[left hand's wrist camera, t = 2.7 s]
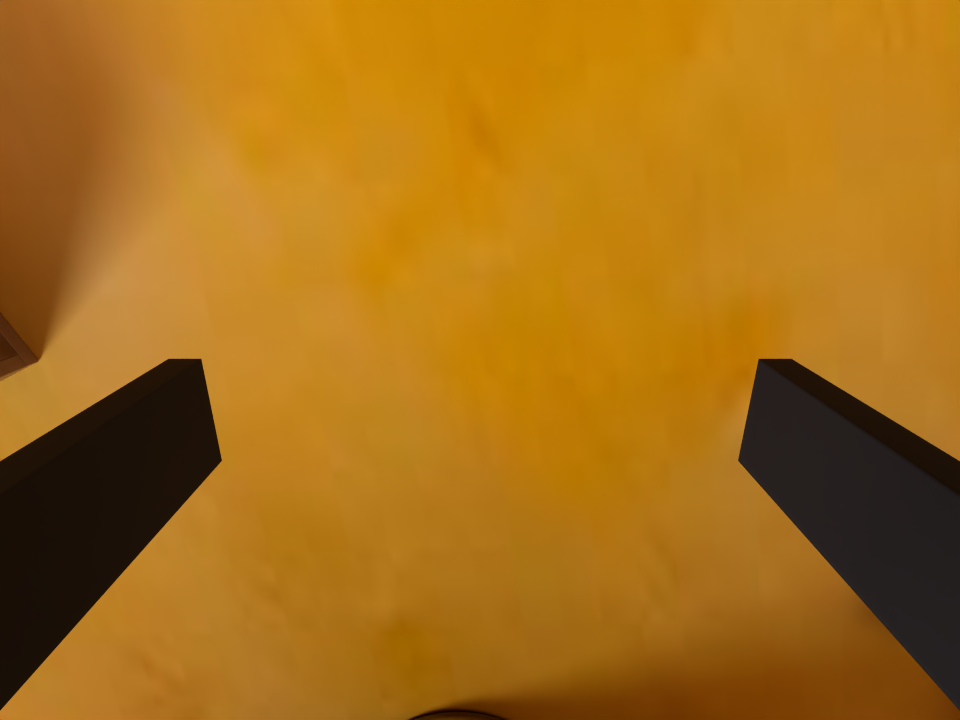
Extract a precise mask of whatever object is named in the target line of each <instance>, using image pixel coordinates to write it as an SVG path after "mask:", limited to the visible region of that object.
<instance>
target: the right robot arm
mask: <svg viewBox="0 0 960 720" xmlns="http://www.w3.org/2000/svg"><path fill="white" fill-rule="evenodd" d="M415 720H502V719H499V718H496V717H492V716H489V715H484V714H478V713H470V712H446V713H438V714H432V715H428V716H424V717H421V718H417V719H415Z"/></svg>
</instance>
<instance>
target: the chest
mask: <svg viewBox="0 0 960 720" xmlns="http://www.w3.org/2000/svg"><path fill="white" fill-rule="evenodd" d="M36 362H38V359H37V358H36V357H35V356H34V354H33V353H32V352H31V351H30V349H29V348H28V347H27V346H26V345H25V343H24V342H23V341H22V340H21V338H20V337H19V336H18V335H17V334H16V332H15V331H14V330H13V329H12V327H11V326H10V325H9V324H8V323H7V321H6V320H5V319H4V318H3V316H2V315H1V314H0V381H1V380H3V379H5V378H7V377H9V376H11V375H13V374H15V373H17V372H19V371H21V370H22V369H24V368H26V367H28V366H30V365H32V364H34V363H36Z"/></svg>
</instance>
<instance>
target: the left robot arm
mask: <svg viewBox="0 0 960 720" xmlns="http://www.w3.org/2000/svg"><path fill="white" fill-rule="evenodd" d="M221 461H222V459H221V454H220V449H219V444H218V439H217V434H216V429H215V425H214V420H213V415H212V410H211V405H210V400H209V395H208V390H207V385H206V380H205V375H204V370H203V365H202V360H201V359H168V360H166V361H164V362H163V363H161V364H159V365H158V366H156V367H155V368H153V369H151V370H150V371H148V372H146V373H145V374H143V375H141V376H140V377H138V378H136V379H135V380H133V381H132V382H130V383H128V384H127V385H125V386H123V387H122V388H120V389H118V390H117V391H115V392H113V393H112V394H110V395H108V396H107V397H105V398H104V399H102V400H100V401H99V402H97V403H95V404H94V405H92V406H90V407H89V408H87V409H85V410H84V411H82V412H81V413H79V414H77V415H76V416H74V417H72V418H71V419H69V420H67V421H66V422H64V423H62V424H61V425H59V426H58V427H56V428H54V429H53V430H51V431H49V432H48V433H46V434H44V435H43V436H41V437H39V438H38V439H36V440H34V441H33V442H31V443H30V444H28V445H26V446H25V447H23V448H21V449H20V450H18V451H16V452H15V453H13V454H11V455H10V456H8V457H7V458H5V459H3V460H2V461H0V710H1V709H2V708H3V707H4V706H5V705H6V703H7V702H8V701H9V700H10V699H11V698H12V697H13V696H14V694H15V693H16V692H17V691H18V690H19V689H20V688H21V686H22V685H23V684H24V683H25V682H26V681H27V680H28V679H29V677H30V676H31V675H32V674H33V673H34V672H35V671H36V670H37V668H38V667H39V666H40V665H41V664H42V663H43V662H44V661H45V659H46V658H47V657H48V656H49V655H50V654H51V653H52V652H53V650H54V649H55V648H56V647H57V646H58V645H59V644H60V643H61V641H62V640H63V639H64V638H65V637H66V636H67V635H68V633H69V632H70V631H71V630H72V629H73V628H74V627H75V626H76V624H77V623H78V622H79V621H80V620H81V619H82V618H83V617H84V615H85V614H86V613H87V612H88V611H89V610H90V609H91V608H92V606H93V605H94V604H95V603H96V602H97V601H98V600H99V599H100V597H101V596H102V595H103V594H104V593H105V592H106V591H107V590H108V588H109V587H110V586H111V585H112V584H113V583H114V582H115V581H116V579H117V578H118V577H119V576H120V575H121V574H122V573H123V571H124V570H125V569H126V568H127V567H128V566H129V565H130V564H131V562H132V561H133V560H134V559H135V558H136V557H137V556H138V555H139V553H140V552H141V551H142V550H143V549H144V548H145V547H146V546H147V544H148V543H149V542H150V541H151V540H152V539H153V538H154V537H155V535H156V534H157V533H158V532H159V531H160V530H161V529H162V528H163V526H164V525H165V524H166V523H167V522H168V521H169V520H170V519H171V517H172V516H173V515H174V514H175V513H176V512H177V511H178V509H179V508H180V507H181V506H182V505H183V504H184V503H185V502H186V500H187V499H188V498H189V497H190V496H191V495H192V494H193V493H194V491H195V490H196V489H197V488H198V487H199V486H200V485H201V484H202V482H203V481H204V480H205V479H206V478H207V477H208V476H209V475H210V473H211V472H212V471H213V470H214V469H215V468H216V467H217V466H218V464H219V463H220V462H221ZM738 461H739V462H740V463H741V464H742V466H743V467H744V468H745V469H746V470H747V471H748V472H749V473H750V475H751V476H752V477H753V478H754V479H755V480H756V481H757V482H758V484H759V485H760V486H761V487H762V488H763V489H764V490H765V491H766V493H767V494H768V495H769V496H770V497H771V498H772V499H773V500H774V502H775V503H776V504H777V505H778V506H779V507H780V508H781V509H782V511H783V512H784V513H785V514H786V515H787V516H788V517H789V519H790V520H791V521H792V522H793V523H794V524H795V525H796V526H797V528H798V529H799V530H800V531H801V532H802V533H803V534H804V535H805V537H806V538H807V539H808V540H809V541H810V542H811V543H812V544H813V546H814V547H815V548H816V549H817V550H818V551H819V552H820V553H821V555H822V556H823V557H824V558H825V559H826V560H827V561H828V562H829V564H830V565H831V566H832V567H833V568H834V569H835V570H836V571H837V573H838V574H839V575H840V576H841V577H842V578H843V579H844V581H845V582H846V583H847V584H848V585H849V586H850V587H851V588H852V590H853V591H854V592H855V593H856V594H857V595H858V596H859V597H860V599H861V600H862V601H863V602H864V603H865V604H866V605H867V606H868V608H869V609H870V610H871V611H872V612H873V613H874V614H875V615H876V617H877V618H878V619H879V620H880V621H881V622H882V623H883V624H884V626H885V627H886V628H887V629H888V630H889V631H890V632H891V633H892V635H893V636H894V637H895V638H896V639H897V640H898V641H899V643H900V644H901V645H902V646H903V647H904V648H905V649H906V650H907V652H908V653H909V654H910V655H911V656H912V657H913V658H914V659H915V661H916V662H917V663H918V664H919V665H920V666H921V667H922V668H923V670H924V671H925V672H926V673H927V674H928V675H929V676H930V677H931V679H932V680H933V681H934V682H935V683H936V684H937V685H938V686H939V688H940V689H941V690H942V691H943V692H944V693H945V694H946V696H947V697H948V698H949V699H950V700H951V701H952V702H953V703H954V705H955V706H956V707H957V708H958V709H959V710H960V461H958V460H957V459H955V458H953V457H952V456H950V455H949V454H947V453H945V452H944V451H942V450H940V449H939V448H937V447H935V446H934V445H932V444H930V443H929V442H927V441H926V440H924V439H922V438H921V437H919V436H917V435H916V434H914V433H912V432H911V431H909V430H907V429H906V428H904V427H902V426H901V425H899V424H898V423H896V422H894V421H893V420H891V419H889V418H888V417H886V416H884V415H883V414H881V413H879V412H878V411H876V410H875V409H873V408H871V407H870V406H868V405H866V404H865V403H863V402H861V401H860V400H858V399H856V398H855V397H853V396H852V395H850V394H848V393H847V392H845V391H843V390H842V389H840V388H838V387H837V386H835V385H833V384H832V383H830V382H828V381H827V380H825V379H824V378H822V377H820V376H819V375H817V374H815V373H814V372H812V371H810V370H809V369H807V368H805V367H804V366H802V365H801V364H799V363H797V362H796V361H794V360H792V359H759V360H758V365H757V370H756V375H755V380H754V385H753V390H752V395H751V400H750V405H749V410H748V415H747V420H746V425H745V429H744V434H743V439H742V444H741V449H740V454H739V459H738Z"/></svg>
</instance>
